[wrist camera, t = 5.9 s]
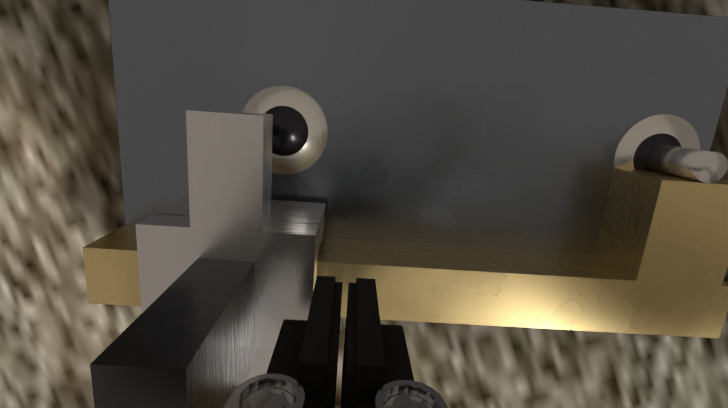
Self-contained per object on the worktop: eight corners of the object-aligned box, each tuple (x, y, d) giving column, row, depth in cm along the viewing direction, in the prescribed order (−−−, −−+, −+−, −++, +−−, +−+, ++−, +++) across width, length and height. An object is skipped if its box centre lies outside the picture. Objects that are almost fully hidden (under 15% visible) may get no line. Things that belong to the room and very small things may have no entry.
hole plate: (721, 24, 15) (750, 17, 14) (644, 313, 18) (663, 327, 17) (122, -26, 14) (103, -36, 13) (143, 284, 17) (129, 297, 16)
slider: (330, 115, 14) (292, 134, 6) (319, 322, 16) (280, 554, 8) (187, 104, 14) (-59, 109, 6) (194, 315, 16) (20, 544, 8)
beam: (710, 147, 15) (777, 156, 13) (666, 304, 17) (719, 338, 14) (116, 105, 14) (68, 105, 12) (129, 272, 16) (88, 303, 14)
